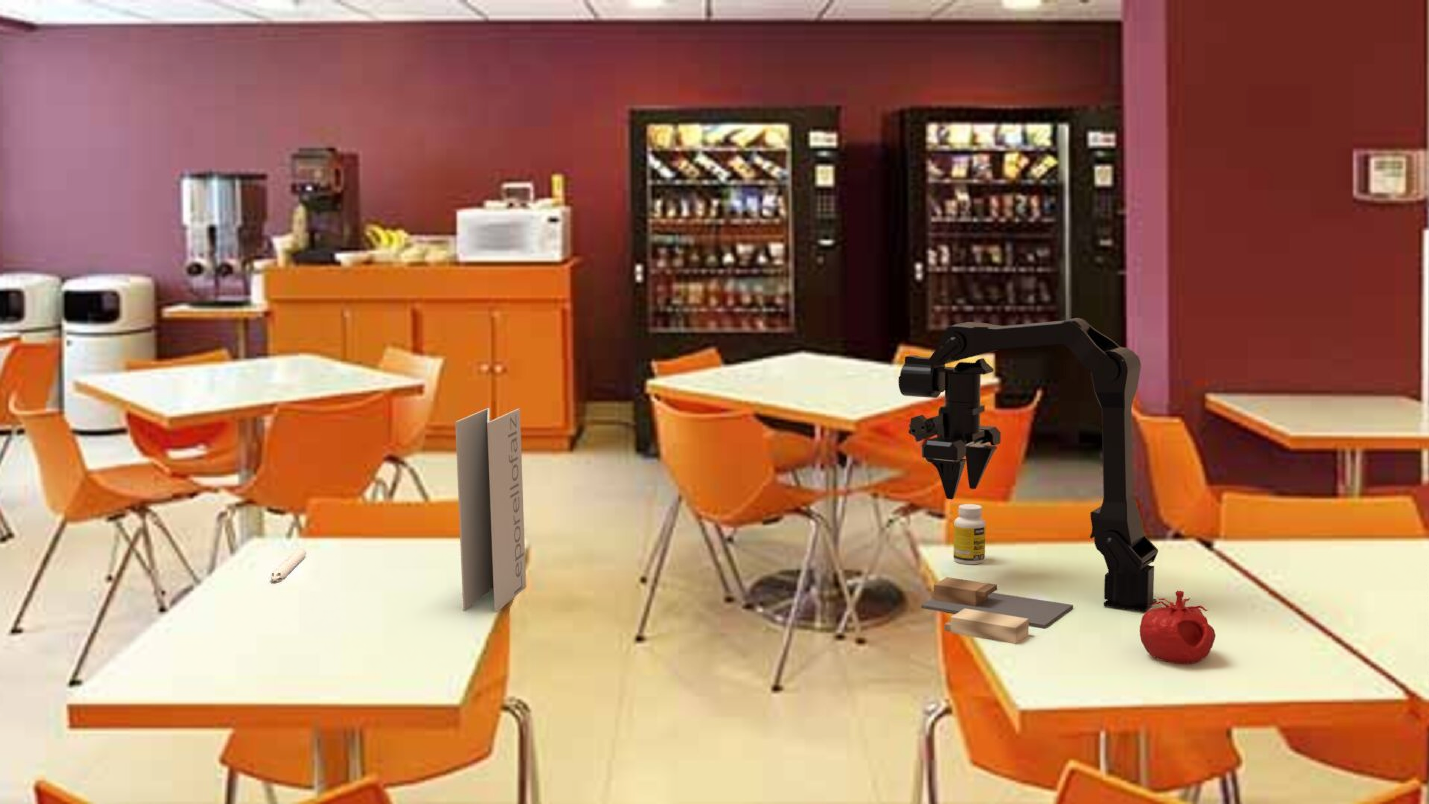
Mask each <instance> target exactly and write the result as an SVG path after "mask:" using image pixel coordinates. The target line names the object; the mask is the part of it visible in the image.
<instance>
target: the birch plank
mask: <svg viewBox="0 0 1429 804" xmlns="http://www.w3.org/2000/svg"><path fill="white" fill-rule="evenodd" d="M1029 627H1030V626H1029V619H1027V618H1021V617H1015V616H1009V615H1002V614H996V613H990V612H984V611H978V610H972V609H965V608H964V609H963V610H961V611H960V612H958V613H956V614H953V615H951V616H950V620H948V621H946V623H944V631H945V632H948V633H949V632H950V634H955V635H960V636H966V637H971V638H979V639H984V640H991V641H996V642H1000V643H1001V642H1002V643H1007V644H1012V645H1013V644H1014V645H1016V644H1017V643H1019V642H1021V641H1022V640H1023V639H1025V638H1026V637H1027V636H1028V635H1029Z"/></svg>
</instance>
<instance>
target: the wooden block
mask: <svg viewBox="0 0 1429 804" xmlns="http://www.w3.org/2000/svg"><path fill="white" fill-rule="evenodd" d="M997 590H998V584H995V583H989V582H983V581H976V580H975V581H974V580H969V579H963V578H955V577H948V576H947V577H944V578H943V579H941V580H940V581H938V582H936V583H934V584H933V598H934V600H937V601H943V602H950V603H956V604H962V605H968V606H977V605H979V604H980V603H982V602H983V601H985V600H987V599H988V595H989V594H991V593H995V592H996V591H997Z"/></svg>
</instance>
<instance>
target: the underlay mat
mask: <svg viewBox="0 0 1429 804" xmlns="http://www.w3.org/2000/svg"><path fill="white" fill-rule="evenodd" d="M920 608H921V609H925V610H931V611H937V612H941V613H948V614H953V615H955V614H956V613H958V612H960V611H961V610H963V609H964V608H965V609H972V610H978V611H984V612H990V613H996V614H1002V615H1009V616H1015V617H1021V618H1027V619H1029V627H1035V628H1041V629H1046V628H1048V627H1049V626H1050V625H1052V624H1053V623H1055V622H1056V621H1057V620H1058V619H1060V618H1061V617H1062V616H1064V615H1065V614H1067V613H1068V612H1070V611H1071V610H1073V608H1074V604H1070V603H1063V602H1056V601H1051V600H1050V601H1049V600H1043V599H1038V598H1031V597H1025V596H1018V595H1010V594H1004V593H998V592H992V593H991V594H989V595H988V599H987V600H985V601H983V602H982V603H980V604H979V605H977V606H968V605H962V604H956V603H950V602H943V601H937V600H934V597H933V598H931V599H929V600H927V601H926V602H924V603H922V604H921V605H920Z"/></svg>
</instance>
